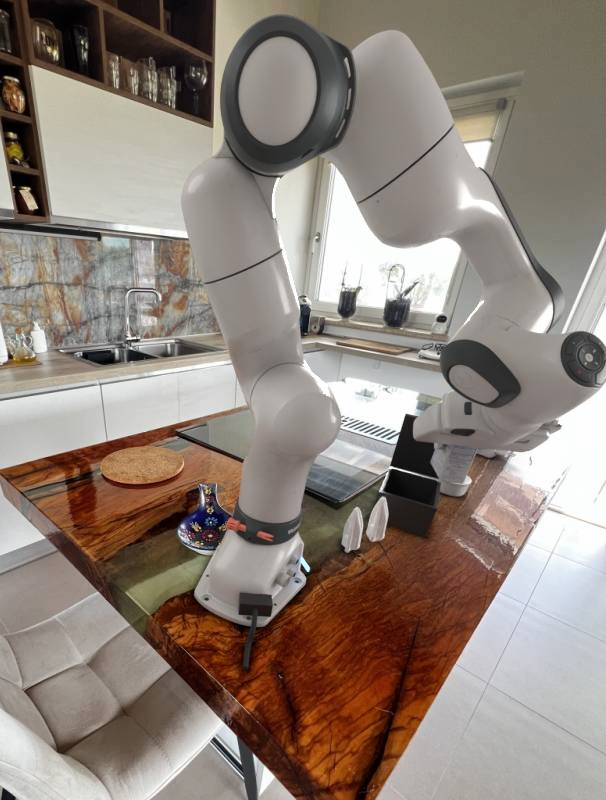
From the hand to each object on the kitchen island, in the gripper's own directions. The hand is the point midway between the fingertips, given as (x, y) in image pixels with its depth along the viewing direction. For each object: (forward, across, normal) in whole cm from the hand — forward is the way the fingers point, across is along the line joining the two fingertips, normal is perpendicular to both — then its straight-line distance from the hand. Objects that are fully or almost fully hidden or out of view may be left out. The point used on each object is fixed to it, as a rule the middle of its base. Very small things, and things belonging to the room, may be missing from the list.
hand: (454, 447), depth 77 cm
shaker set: (+18, +11, +17) cm, 27 cm away
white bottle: (+60, -44, -25) cm, 78 cm away
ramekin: (+39, -19, -4) cm, 43 cm away
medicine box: (+3, 0, +4) cm, 5 cm away
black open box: (+28, -2, +7) cm, 29 cm away
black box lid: (+20, -3, -7) cm, 21 cm away
